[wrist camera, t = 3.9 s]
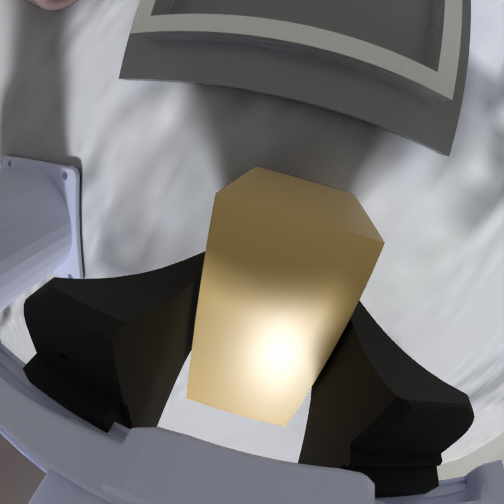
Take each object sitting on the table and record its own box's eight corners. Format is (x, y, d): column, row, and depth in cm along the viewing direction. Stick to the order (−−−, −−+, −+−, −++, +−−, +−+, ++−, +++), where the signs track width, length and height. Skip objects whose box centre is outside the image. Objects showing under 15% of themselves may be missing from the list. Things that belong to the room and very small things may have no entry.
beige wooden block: (221, 323, 14) (186, 398, 10) (255, 166, 11) (215, 193, 6) (296, 345, 14) (285, 426, 10) (354, 194, 10) (384, 242, 6)
